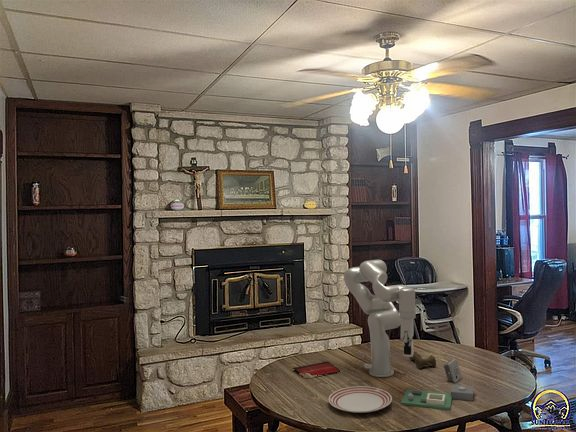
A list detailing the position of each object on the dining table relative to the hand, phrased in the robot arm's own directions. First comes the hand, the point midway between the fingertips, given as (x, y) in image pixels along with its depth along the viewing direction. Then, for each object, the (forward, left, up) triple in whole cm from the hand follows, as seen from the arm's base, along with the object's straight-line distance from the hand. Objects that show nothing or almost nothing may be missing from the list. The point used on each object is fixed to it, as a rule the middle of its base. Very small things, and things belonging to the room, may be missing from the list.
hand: (408, 352), depth 230 cm
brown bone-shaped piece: (+2, +34, -17) cm, 38 cm away
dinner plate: (-18, -25, -17) cm, 35 cm away
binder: (-50, +11, -17) cm, 53 cm away
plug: (0, 0, -1) cm, 1 cm away
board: (+9, -13, -16) cm, 23 cm away
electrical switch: (+18, +16, -17) cm, 29 cm away
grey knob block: (+23, -4, -16) cm, 29 cm away
